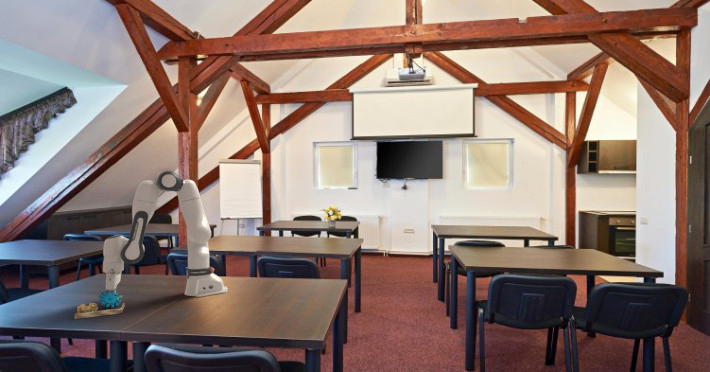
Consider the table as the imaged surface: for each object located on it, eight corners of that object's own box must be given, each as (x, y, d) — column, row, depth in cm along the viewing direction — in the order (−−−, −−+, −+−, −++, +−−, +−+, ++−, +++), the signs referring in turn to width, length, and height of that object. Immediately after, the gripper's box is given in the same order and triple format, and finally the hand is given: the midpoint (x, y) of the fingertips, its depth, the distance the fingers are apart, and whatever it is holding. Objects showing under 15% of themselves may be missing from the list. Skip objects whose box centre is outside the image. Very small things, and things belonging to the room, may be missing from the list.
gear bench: (124, 305, 184) (124, 301, 184) (121, 313, 173) (121, 308, 173) (80, 310, 176) (80, 306, 176) (74, 318, 165) (74, 314, 165)
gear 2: (103, 307, 176) (97, 290, 180) (96, 315, 177) (91, 297, 182) (126, 304, 186) (120, 288, 190) (120, 311, 187) (114, 295, 191)
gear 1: (98, 308, 178) (98, 299, 178) (95, 312, 171) (95, 303, 171) (79, 310, 175) (79, 301, 175) (75, 315, 168) (75, 305, 168)
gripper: (117, 271, 181) (117, 299, 180) (123, 263, 199) (123, 289, 199) (102, 272, 178) (101, 301, 178) (109, 264, 197) (109, 290, 196)
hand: (113, 294), depth 189 cm, fingers closed
